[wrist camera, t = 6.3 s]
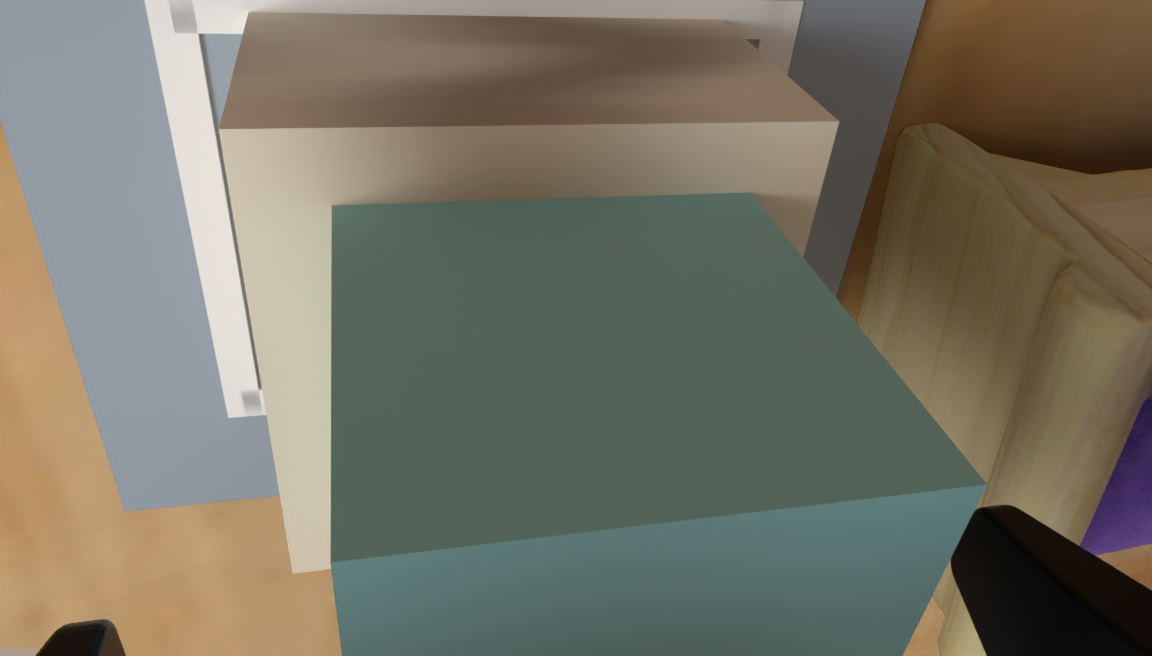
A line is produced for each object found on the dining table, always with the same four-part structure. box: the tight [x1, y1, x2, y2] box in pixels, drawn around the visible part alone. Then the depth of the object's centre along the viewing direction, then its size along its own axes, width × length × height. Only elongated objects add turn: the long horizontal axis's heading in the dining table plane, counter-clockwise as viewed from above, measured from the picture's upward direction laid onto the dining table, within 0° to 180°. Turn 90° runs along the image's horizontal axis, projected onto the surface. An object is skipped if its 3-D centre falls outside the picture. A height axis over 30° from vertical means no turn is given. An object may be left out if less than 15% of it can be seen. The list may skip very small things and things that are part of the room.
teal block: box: [331, 193, 987, 656], centre depth 10 cm, size 5×5×5 cm
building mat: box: [0, 0, 926, 511], centre depth 14 cm, size 14×14×1 cm
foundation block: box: [219, 12, 839, 573], centre depth 13 cm, size 7×7×4 cm
